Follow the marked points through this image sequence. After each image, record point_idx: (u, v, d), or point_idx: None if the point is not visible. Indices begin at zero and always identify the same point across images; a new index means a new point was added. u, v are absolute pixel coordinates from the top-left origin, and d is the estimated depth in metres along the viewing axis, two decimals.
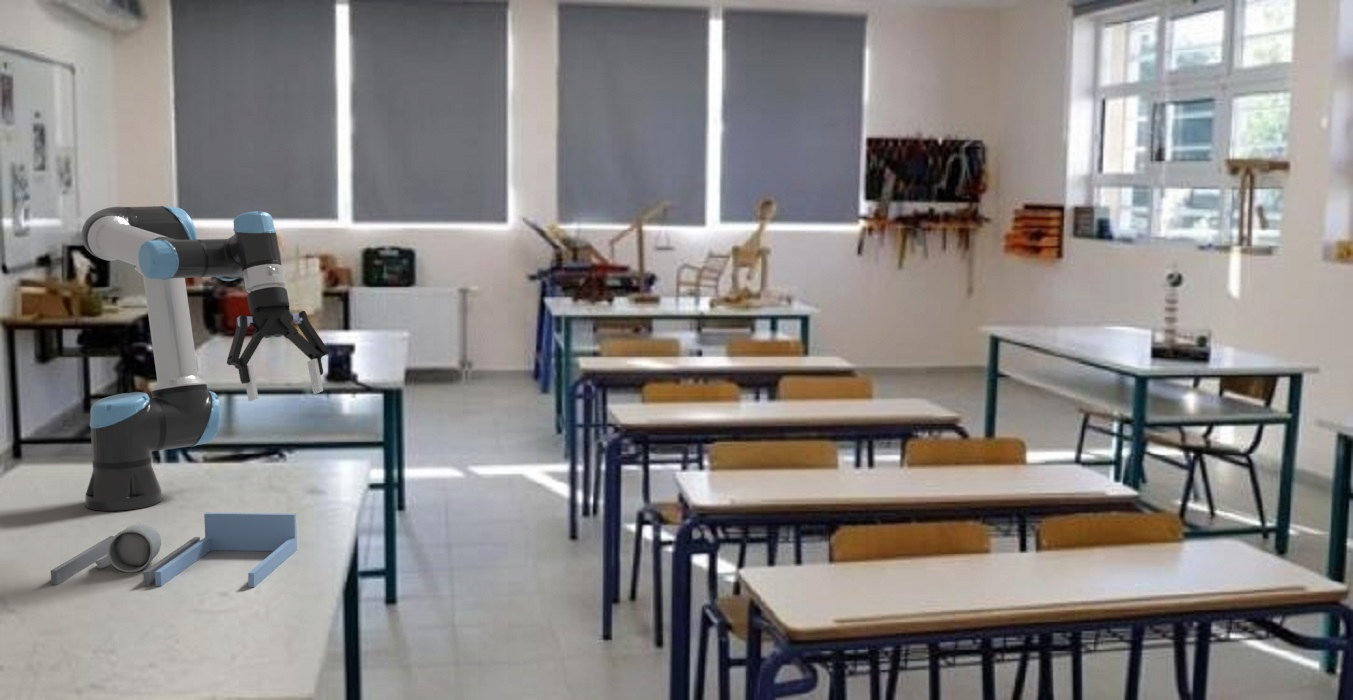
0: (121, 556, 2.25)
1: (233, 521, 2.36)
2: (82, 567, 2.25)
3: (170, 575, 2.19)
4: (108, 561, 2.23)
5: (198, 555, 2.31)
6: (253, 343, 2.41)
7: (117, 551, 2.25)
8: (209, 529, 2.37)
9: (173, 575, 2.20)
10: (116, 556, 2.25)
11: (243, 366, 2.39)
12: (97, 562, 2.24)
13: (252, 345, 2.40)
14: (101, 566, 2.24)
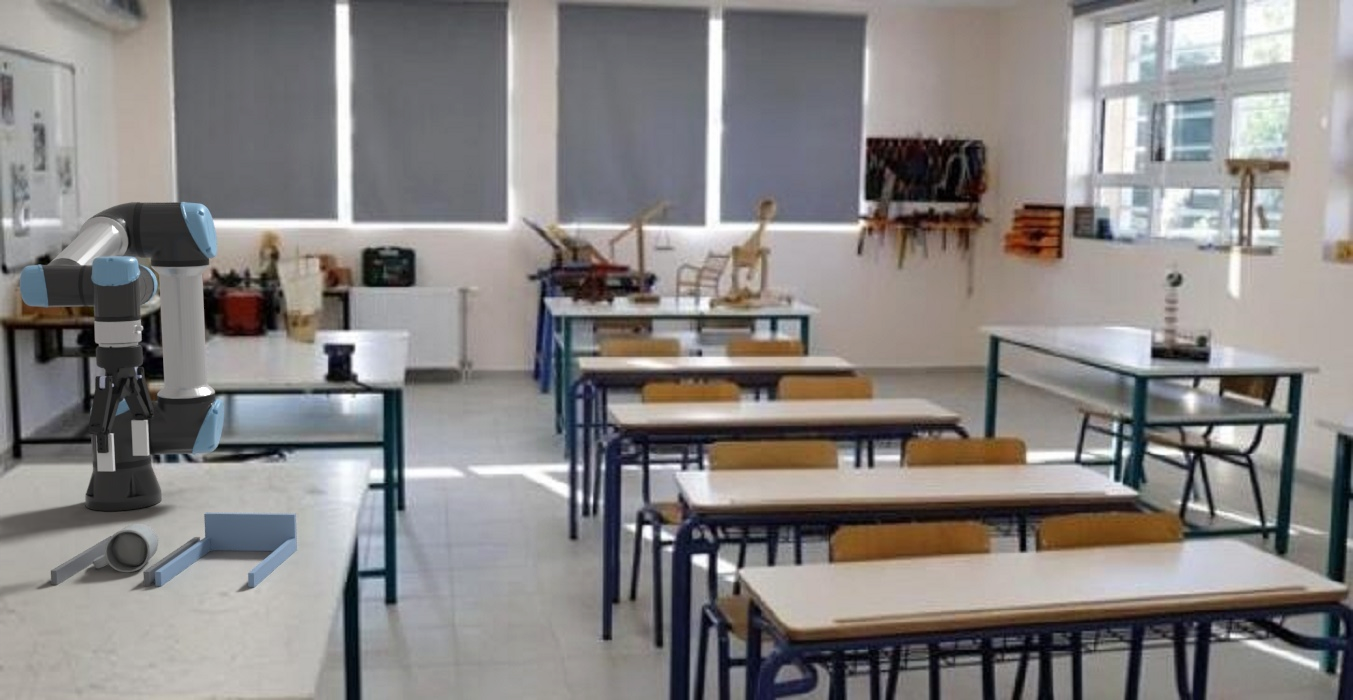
0: (118, 556, 2.24)
1: (233, 521, 2.36)
2: (82, 567, 2.25)
3: (170, 575, 2.19)
4: (105, 561, 2.23)
5: (198, 555, 2.31)
6: (114, 408, 2.17)
7: (114, 551, 2.25)
8: (209, 529, 2.37)
9: (173, 575, 2.20)
10: (113, 556, 2.25)
11: (105, 435, 2.15)
12: (94, 562, 2.24)
13: (113, 411, 2.17)
14: (98, 566, 2.24)
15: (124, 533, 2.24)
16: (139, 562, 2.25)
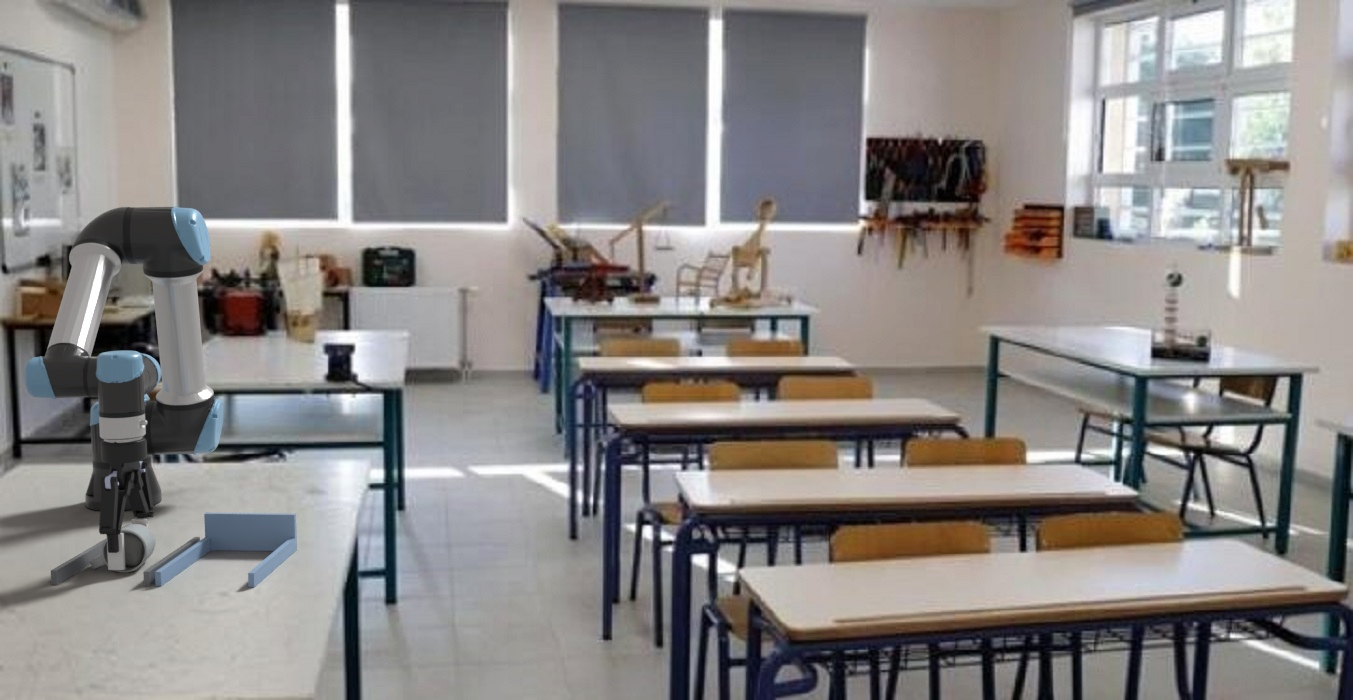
0: None
1: (233, 521, 2.36)
2: (82, 567, 2.25)
3: (170, 575, 2.19)
4: (102, 561, 2.23)
5: (198, 555, 2.31)
6: (122, 507, 2.21)
7: None
8: (209, 529, 2.37)
9: (173, 575, 2.20)
10: None
11: (116, 535, 2.20)
12: (91, 562, 2.24)
13: (121, 509, 2.21)
14: (95, 566, 2.24)
15: None
16: (136, 562, 2.24)
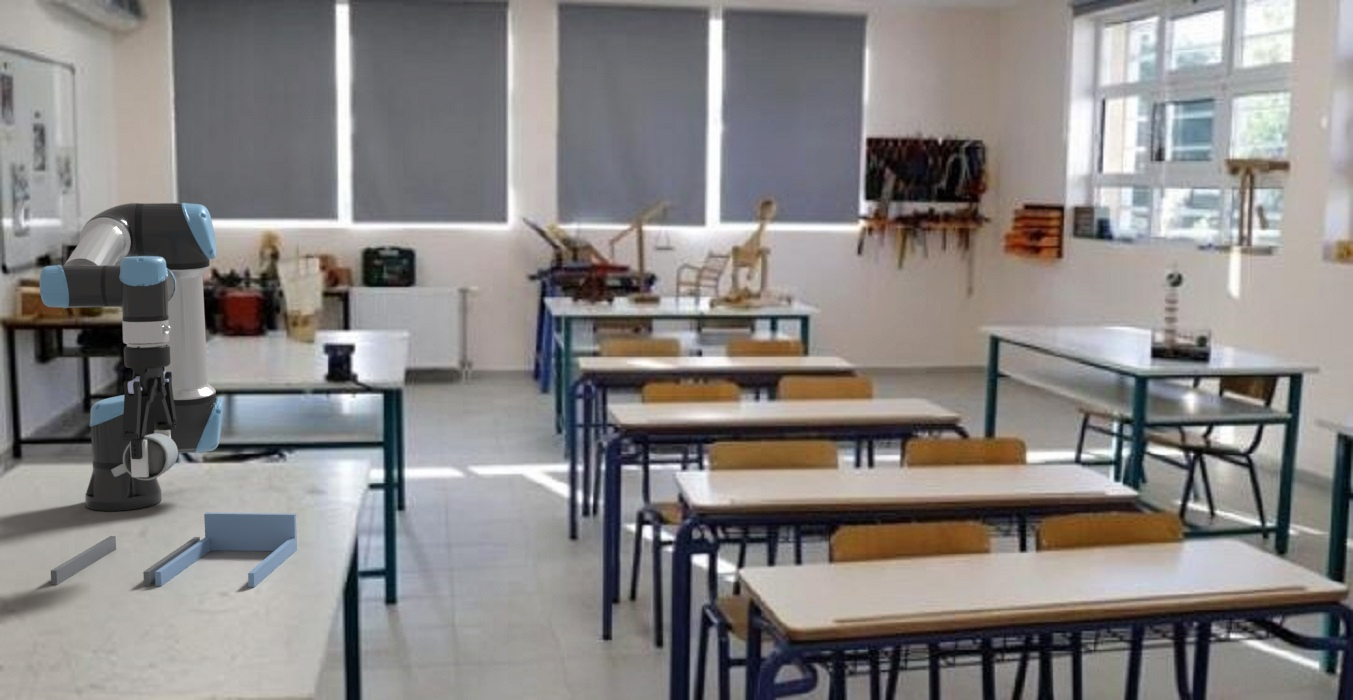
0: None
1: (233, 521, 2.36)
2: (82, 567, 2.25)
3: (170, 575, 2.19)
4: (124, 468, 2.20)
5: (198, 555, 2.31)
6: (145, 413, 2.18)
7: None
8: (209, 529, 2.37)
9: (173, 575, 2.20)
10: None
11: (140, 441, 2.17)
12: (112, 470, 2.21)
13: (145, 415, 2.18)
14: (116, 474, 2.21)
15: None
16: (157, 470, 2.21)
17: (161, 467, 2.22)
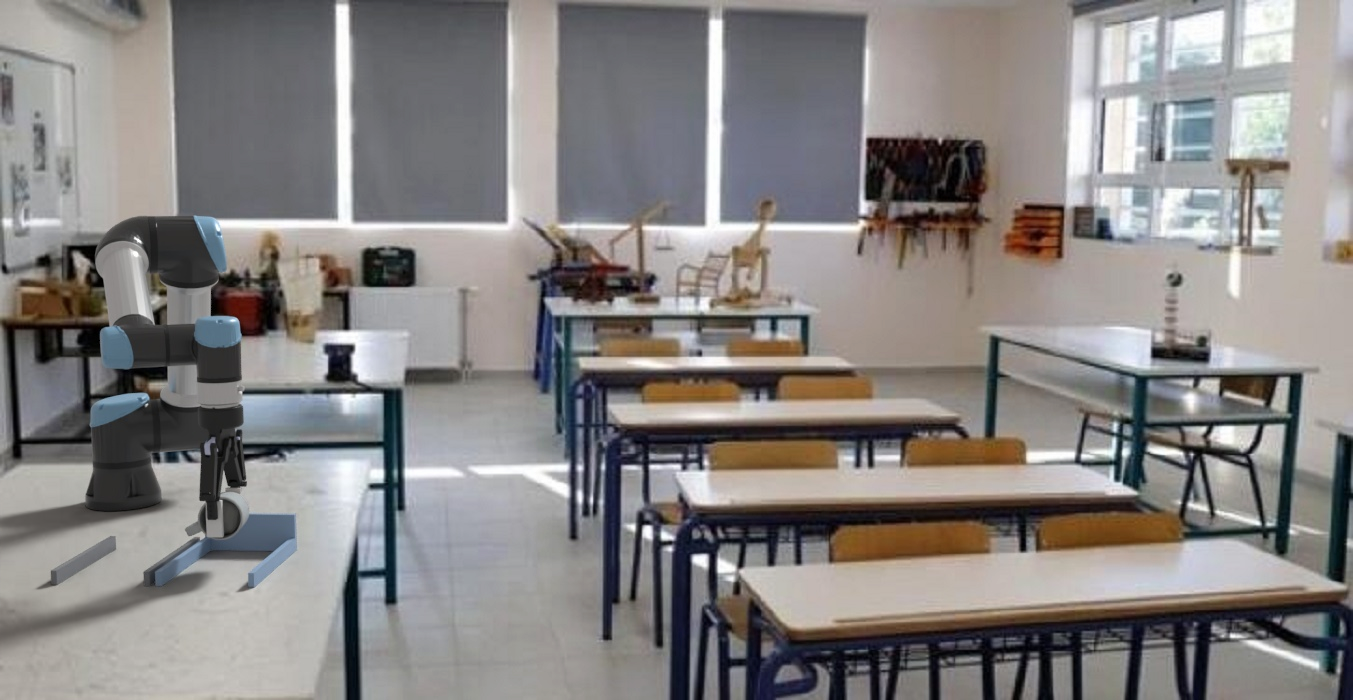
0: None
1: None
2: (82, 567, 2.25)
3: (170, 575, 2.19)
4: (198, 528, 2.21)
5: (198, 555, 2.31)
6: (220, 473, 2.19)
7: None
8: None
9: (173, 575, 2.20)
10: (205, 524, 2.23)
11: (216, 502, 2.18)
12: (187, 529, 2.22)
13: (220, 476, 2.19)
14: (191, 533, 2.21)
15: None
16: (232, 530, 2.22)
17: (235, 526, 2.22)
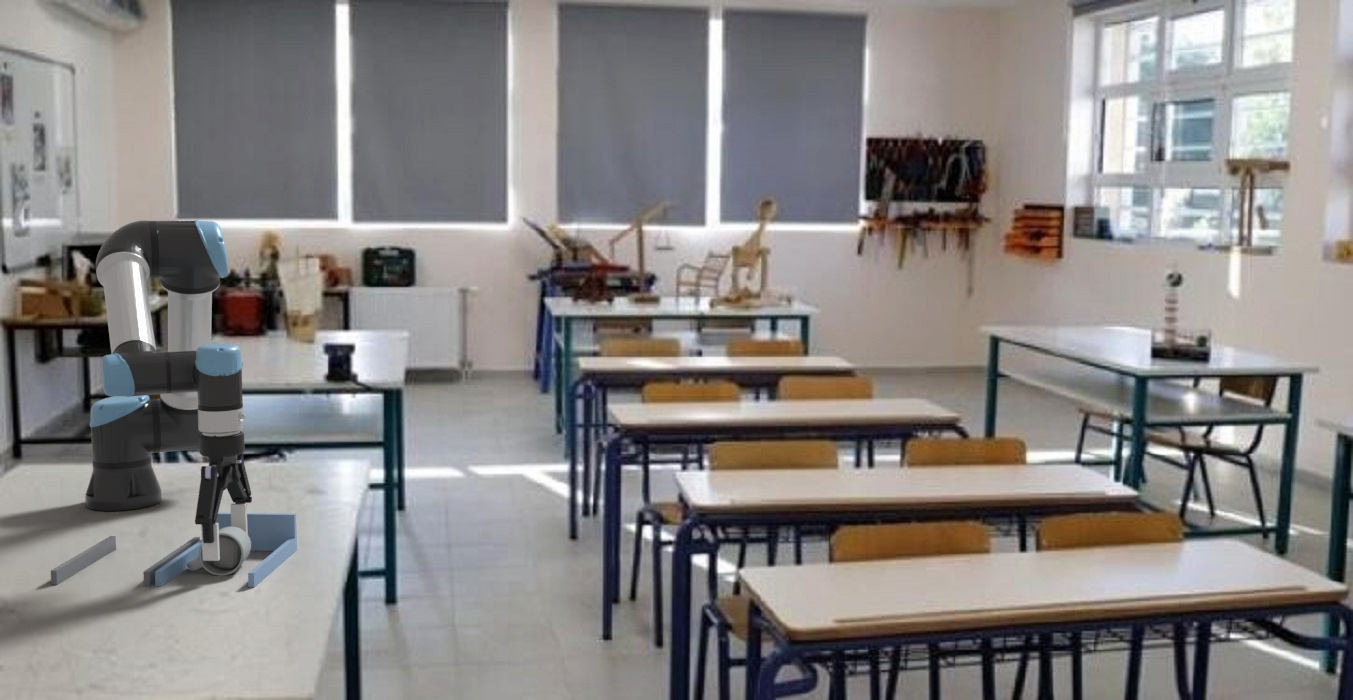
0: None
1: None
2: (82, 567, 2.25)
3: (170, 575, 2.19)
4: (199, 564, 2.22)
5: (198, 555, 2.31)
6: (219, 498, 2.18)
7: None
8: None
9: (173, 575, 2.20)
10: None
11: (211, 525, 2.16)
12: (188, 565, 2.23)
13: (218, 500, 2.18)
14: (192, 569, 2.23)
15: None
16: (233, 565, 2.23)
17: (236, 562, 2.23)
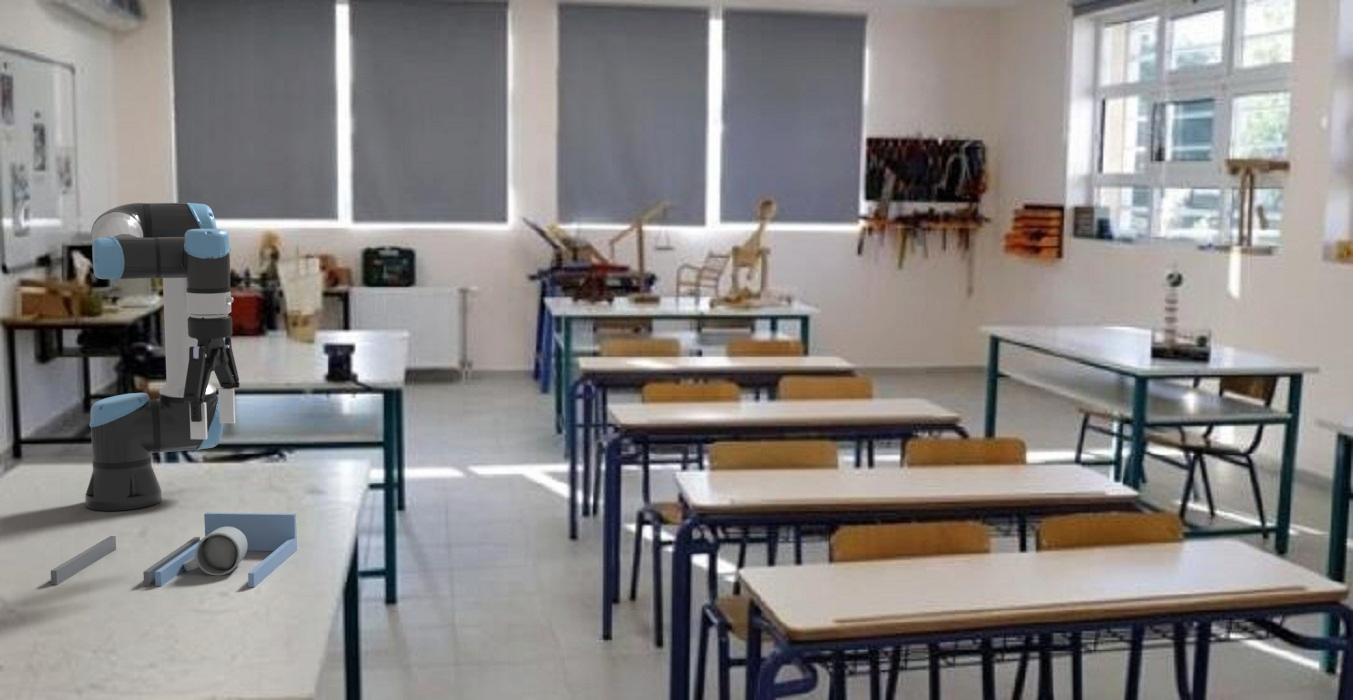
0: (208, 559, 2.23)
1: (233, 521, 2.36)
2: (82, 567, 2.25)
3: (170, 575, 2.19)
4: (196, 564, 2.22)
5: None
6: (207, 378, 2.23)
7: (204, 554, 2.23)
8: (209, 529, 2.37)
9: (173, 575, 2.20)
10: (203, 559, 2.24)
11: (199, 404, 2.21)
12: (185, 565, 2.23)
13: (206, 380, 2.23)
14: (188, 569, 2.23)
15: (214, 536, 2.23)
16: (229, 565, 2.23)
17: (233, 562, 2.23)
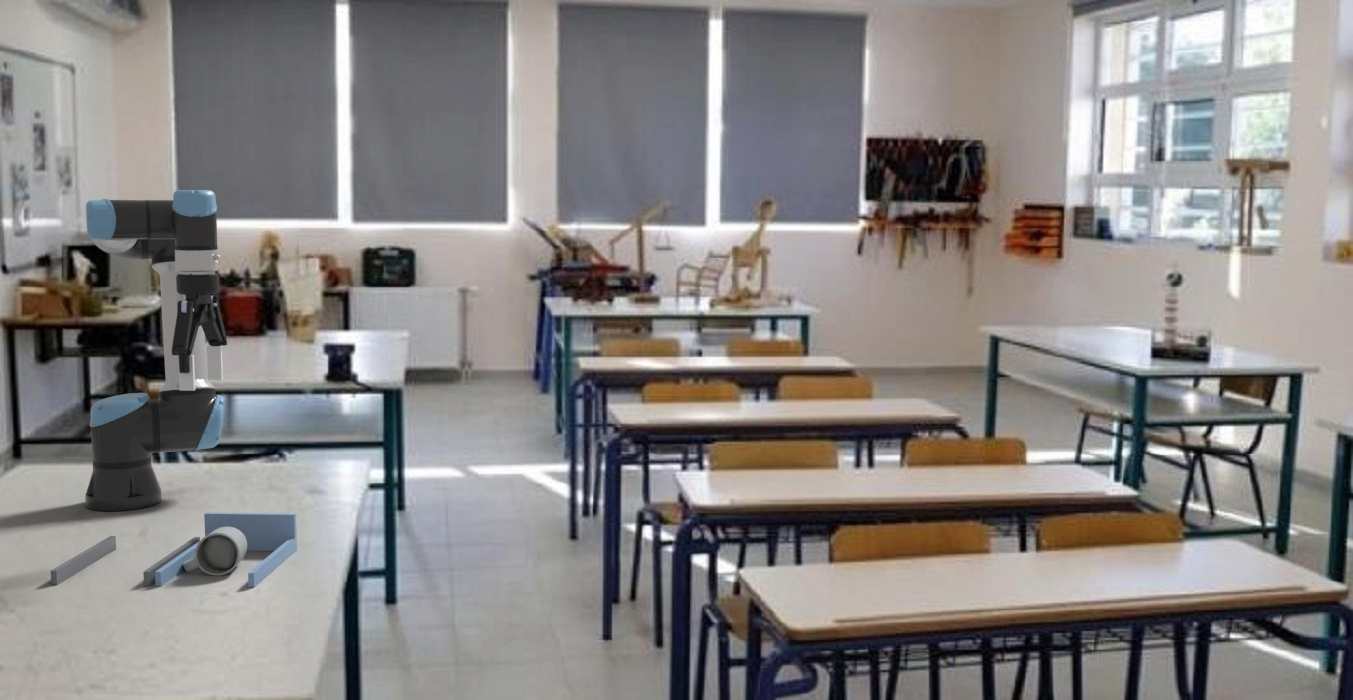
0: (208, 559, 2.23)
1: (233, 521, 2.36)
2: (82, 567, 2.25)
3: (170, 575, 2.19)
4: (195, 564, 2.22)
5: None
6: (194, 332, 2.32)
7: (204, 554, 2.23)
8: (209, 529, 2.37)
9: (173, 575, 2.20)
10: (203, 559, 2.24)
11: (187, 356, 2.30)
12: (184, 565, 2.23)
13: (194, 334, 2.32)
14: (188, 569, 2.22)
15: (214, 536, 2.22)
16: (229, 565, 2.23)
17: (232, 562, 2.23)
